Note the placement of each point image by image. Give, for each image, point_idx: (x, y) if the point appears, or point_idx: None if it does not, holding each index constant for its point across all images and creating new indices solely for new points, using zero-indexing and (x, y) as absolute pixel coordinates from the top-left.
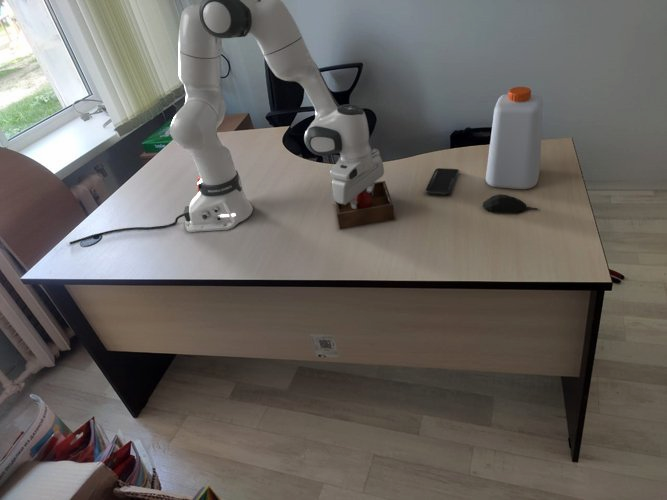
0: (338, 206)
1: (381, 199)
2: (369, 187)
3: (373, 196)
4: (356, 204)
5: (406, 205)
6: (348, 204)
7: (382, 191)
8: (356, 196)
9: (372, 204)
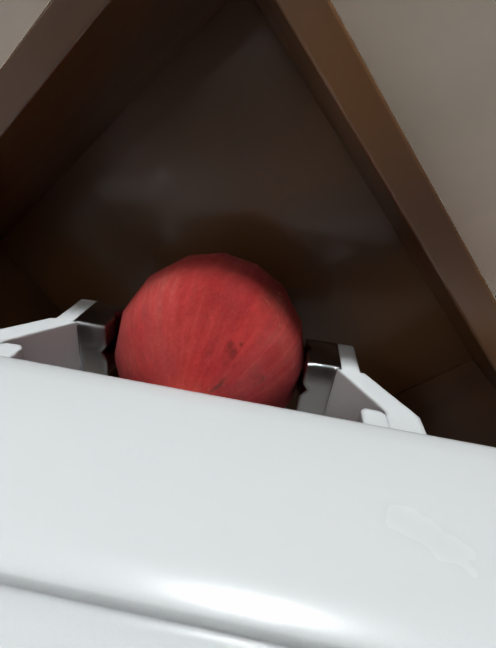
0: (88, 109)
1: (414, 359)
2: (352, 417)
3: (437, 297)
4: (82, 367)
5: None
6: (272, 118)
7: (486, 377)
8: (125, 365)
9: (330, 325)
